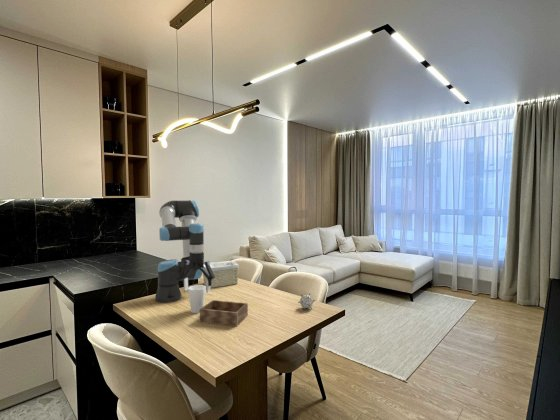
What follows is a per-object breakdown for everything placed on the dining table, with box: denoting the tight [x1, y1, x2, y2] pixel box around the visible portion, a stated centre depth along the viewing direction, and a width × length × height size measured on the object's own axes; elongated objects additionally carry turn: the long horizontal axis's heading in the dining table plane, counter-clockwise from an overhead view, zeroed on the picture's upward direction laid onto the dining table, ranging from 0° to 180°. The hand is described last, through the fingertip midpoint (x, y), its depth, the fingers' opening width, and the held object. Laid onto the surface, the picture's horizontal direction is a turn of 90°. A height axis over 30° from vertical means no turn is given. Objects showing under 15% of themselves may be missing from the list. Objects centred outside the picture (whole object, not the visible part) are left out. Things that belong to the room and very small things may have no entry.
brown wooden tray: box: [199, 299, 249, 327], centre depth 153 cm, size 20×14×6 cm
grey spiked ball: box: [297, 293, 316, 311], centre depth 168 cm, size 9×8×10 cm
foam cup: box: [187, 284, 207, 314], centre depth 164 cm, size 10×9×13 cm
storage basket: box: [202, 260, 240, 289], centre depth 217 cm, size 24×16×15 cm
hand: (197, 291), depth 163 cm, fingers open, 13 cm apart
